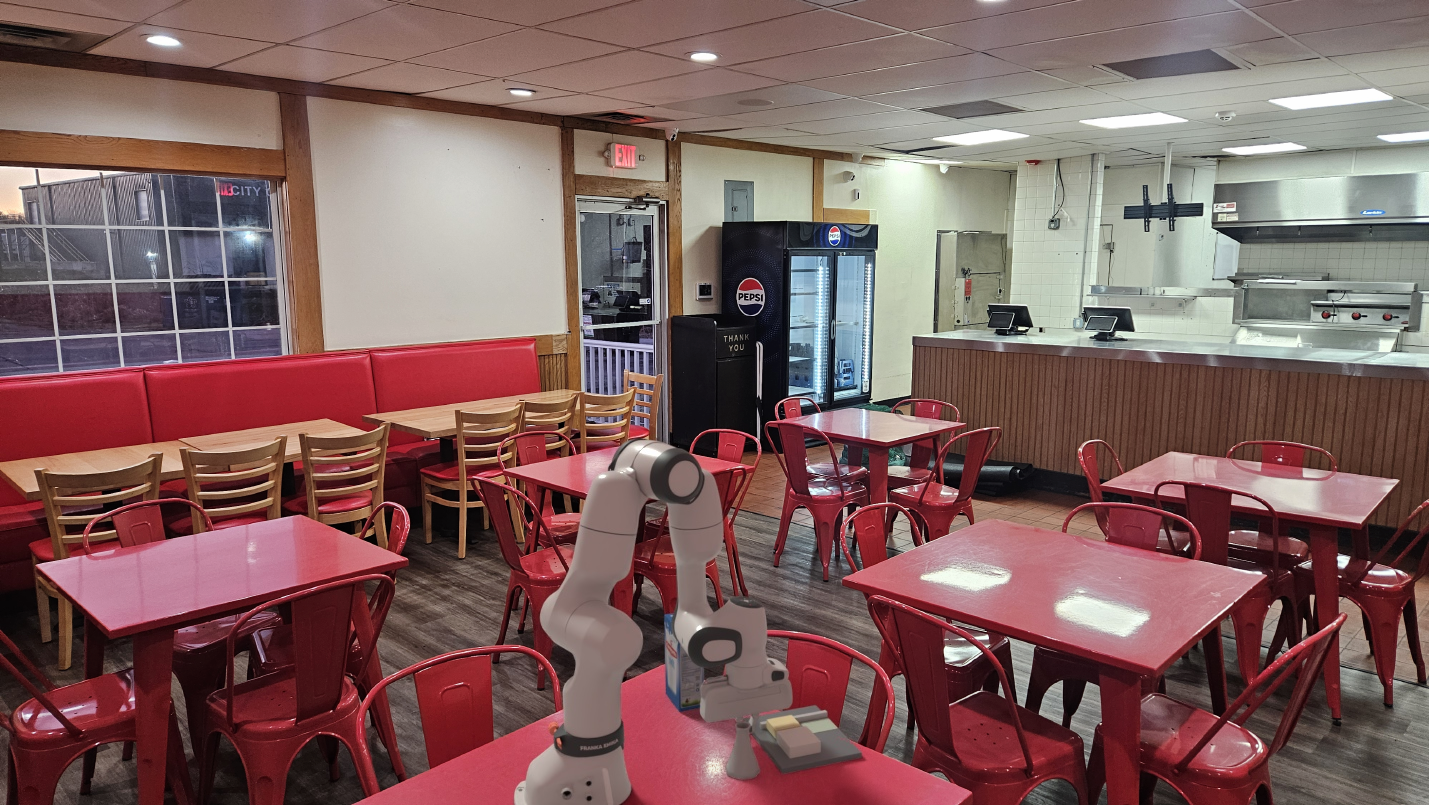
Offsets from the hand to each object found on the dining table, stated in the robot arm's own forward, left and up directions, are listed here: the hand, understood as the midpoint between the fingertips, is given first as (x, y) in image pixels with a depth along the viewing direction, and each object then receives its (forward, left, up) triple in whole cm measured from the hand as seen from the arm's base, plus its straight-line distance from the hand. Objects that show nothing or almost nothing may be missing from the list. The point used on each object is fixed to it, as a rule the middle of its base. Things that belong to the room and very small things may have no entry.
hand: (746, 732), depth 196 cm
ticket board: (+11, -3, -2) cm, 12 cm away
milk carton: (-7, +23, -3) cm, 24 cm away
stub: (+8, -1, -1) cm, 8 cm away
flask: (-5, -10, -3) cm, 11 cm away
